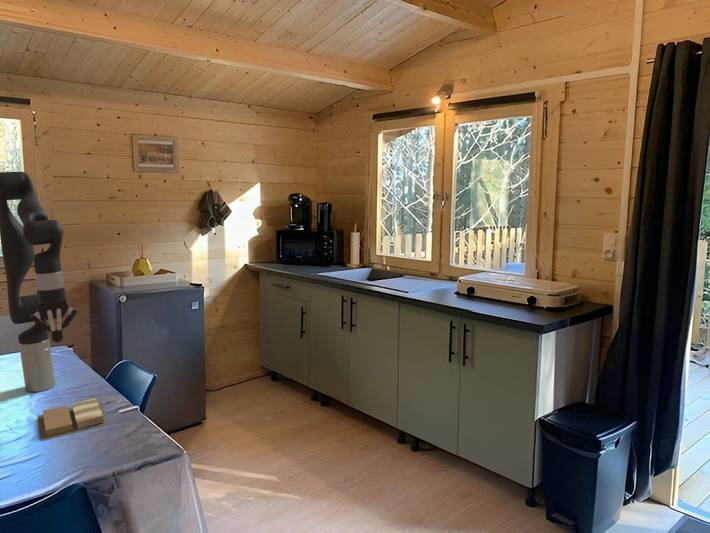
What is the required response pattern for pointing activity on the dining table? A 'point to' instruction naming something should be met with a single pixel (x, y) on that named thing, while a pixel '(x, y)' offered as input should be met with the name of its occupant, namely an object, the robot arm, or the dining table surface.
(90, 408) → the oak plank
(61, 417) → the floor section
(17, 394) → the dining table surface
